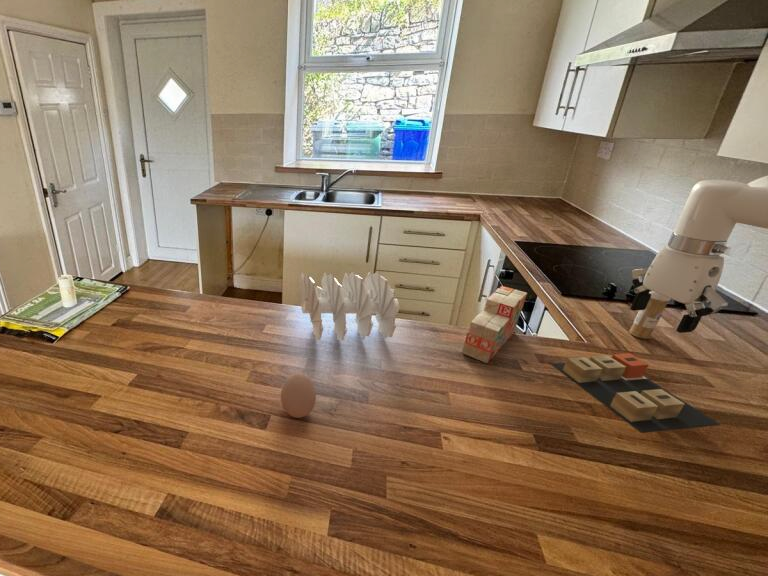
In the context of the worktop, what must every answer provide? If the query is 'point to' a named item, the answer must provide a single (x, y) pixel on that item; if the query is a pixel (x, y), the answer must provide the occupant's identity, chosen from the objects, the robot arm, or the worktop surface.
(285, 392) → the egg
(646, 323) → the sprinkles bottle
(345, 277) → the white pleated sculpture
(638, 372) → the orange toy block
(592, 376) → the word tiles
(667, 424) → the letter mat
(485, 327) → the stack of blocks
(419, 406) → the worktop surface
